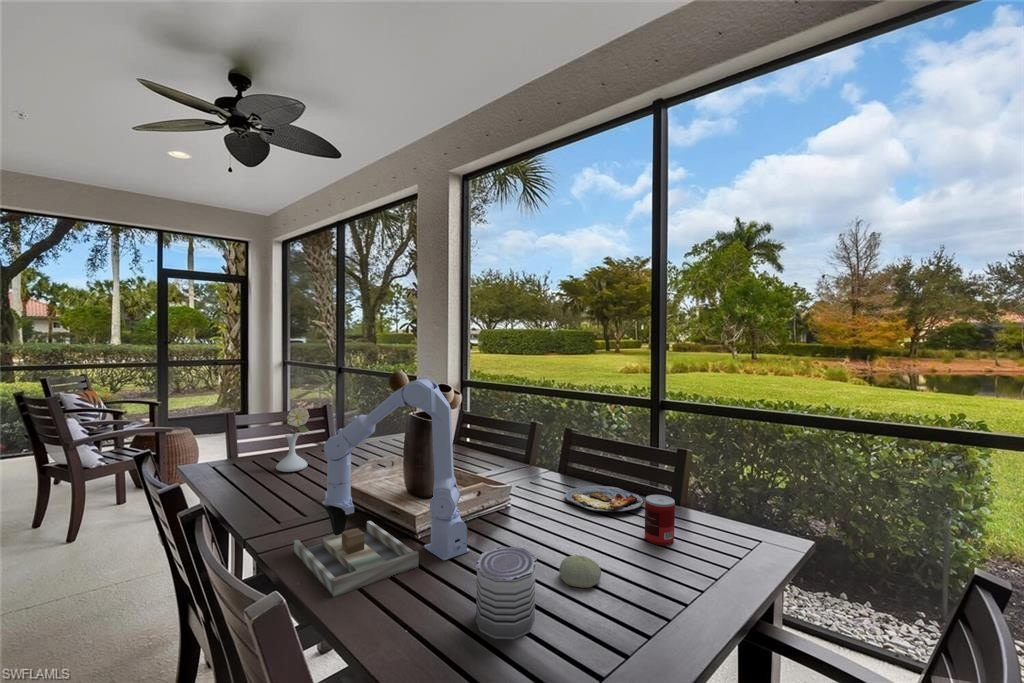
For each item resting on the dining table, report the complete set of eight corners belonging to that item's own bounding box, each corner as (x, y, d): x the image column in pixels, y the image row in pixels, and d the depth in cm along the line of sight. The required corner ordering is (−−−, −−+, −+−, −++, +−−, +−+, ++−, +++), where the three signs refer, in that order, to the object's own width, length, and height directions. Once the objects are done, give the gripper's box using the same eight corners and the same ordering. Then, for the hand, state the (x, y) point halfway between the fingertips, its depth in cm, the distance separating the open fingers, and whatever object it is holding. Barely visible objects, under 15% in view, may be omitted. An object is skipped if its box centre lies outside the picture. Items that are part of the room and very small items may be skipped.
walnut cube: (364, 549, 116) (364, 533, 115) (348, 554, 113) (348, 537, 113) (357, 544, 119) (357, 528, 118) (341, 548, 116) (341, 532, 116)
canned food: (675, 536, 131) (676, 497, 131) (672, 548, 124) (673, 506, 124) (647, 531, 135) (647, 492, 134) (642, 542, 127) (643, 501, 127)
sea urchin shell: (595, 587, 101) (571, 554, 103) (570, 605, 104) (548, 572, 107) (610, 569, 108) (587, 539, 111) (587, 587, 111) (565, 556, 114)
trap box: (418, 567, 112) (418, 552, 112) (333, 597, 99) (333, 581, 99) (370, 531, 131) (370, 519, 131) (293, 552, 118) (294, 539, 118)
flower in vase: (269, 473, 183) (269, 408, 182) (287, 465, 194) (288, 404, 194) (300, 475, 181) (300, 409, 180) (317, 467, 192) (317, 405, 192)
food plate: (658, 507, 153) (658, 496, 153) (606, 523, 140) (606, 511, 140) (602, 488, 174) (602, 478, 174) (552, 500, 161) (552, 490, 161)
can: (547, 626, 90) (548, 563, 90) (497, 648, 84) (498, 580, 83) (512, 598, 99) (513, 541, 99) (464, 616, 93) (465, 555, 93)
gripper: (313, 477, 125) (312, 528, 125) (334, 491, 114) (333, 548, 114) (339, 472, 130) (339, 522, 130) (362, 486, 119) (361, 539, 119)
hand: (338, 533), depth 122 cm, fingers closed
